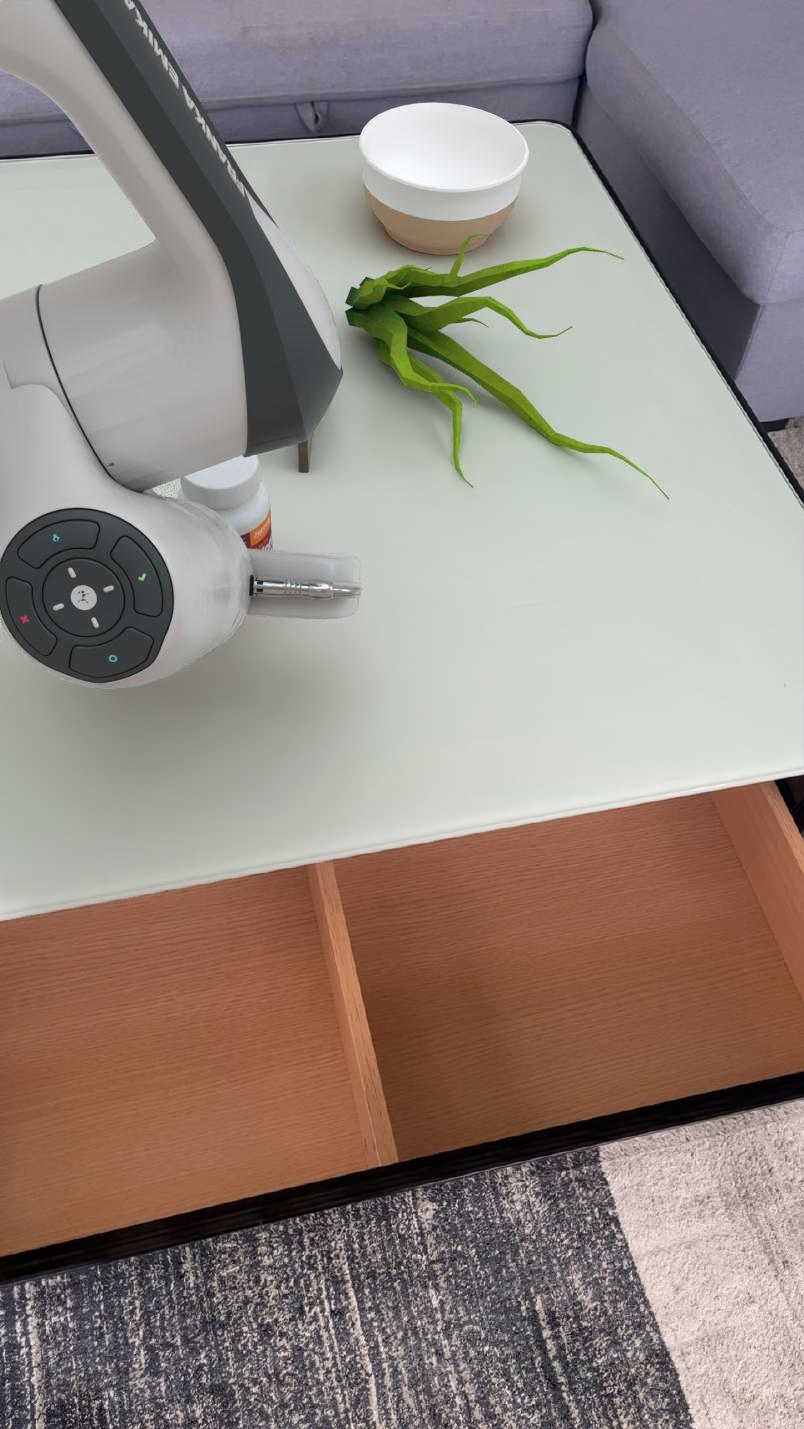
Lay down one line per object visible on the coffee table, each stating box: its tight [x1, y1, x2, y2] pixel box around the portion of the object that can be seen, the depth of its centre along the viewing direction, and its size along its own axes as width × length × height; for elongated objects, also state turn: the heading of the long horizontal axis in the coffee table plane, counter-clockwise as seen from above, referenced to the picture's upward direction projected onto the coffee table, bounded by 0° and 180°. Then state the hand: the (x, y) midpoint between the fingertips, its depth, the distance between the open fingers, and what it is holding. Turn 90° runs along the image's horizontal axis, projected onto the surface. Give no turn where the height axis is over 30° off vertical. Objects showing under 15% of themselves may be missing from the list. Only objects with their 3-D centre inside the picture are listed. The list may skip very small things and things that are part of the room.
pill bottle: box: [176, 454, 274, 550], centre depth 72 cm, size 6×6×11 cm
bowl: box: [358, 102, 530, 256], centre depth 102 cm, size 16×16×8 cm
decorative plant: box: [344, 234, 670, 501], centre depth 83 cm, size 18×30×15 cm, turn 18°
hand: (212, 572), depth 71 cm, fingers closed, pressing on pill bottle
